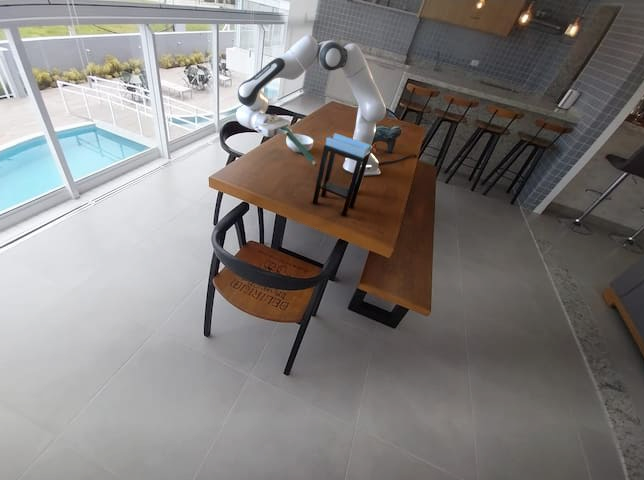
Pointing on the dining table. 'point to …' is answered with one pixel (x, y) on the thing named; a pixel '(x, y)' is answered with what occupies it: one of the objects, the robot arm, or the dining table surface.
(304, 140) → the cereal bowl
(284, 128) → the pencil
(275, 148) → the dining table surface
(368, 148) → the tray
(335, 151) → the stool
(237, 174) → the dining table surface
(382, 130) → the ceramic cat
